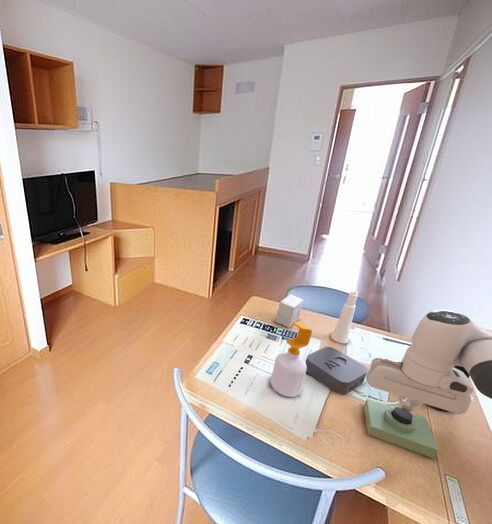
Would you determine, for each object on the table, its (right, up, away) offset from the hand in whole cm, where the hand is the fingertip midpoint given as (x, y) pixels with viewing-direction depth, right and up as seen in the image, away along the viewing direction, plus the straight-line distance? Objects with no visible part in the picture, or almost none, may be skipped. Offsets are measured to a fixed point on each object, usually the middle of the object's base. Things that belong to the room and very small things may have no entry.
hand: (404, 408), depth 83 cm
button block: (0, -8, +3) cm, 8 cm away
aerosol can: (+21, -4, +13) cm, 25 cm away
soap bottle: (-24, -1, +18) cm, 30 cm away
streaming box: (-5, +1, +23) cm, 23 cm away
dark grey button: (0, -3, +1) cm, 4 cm away
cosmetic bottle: (+9, +8, +42) cm, 44 cm away
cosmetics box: (-6, +13, +54) cm, 56 cm away
